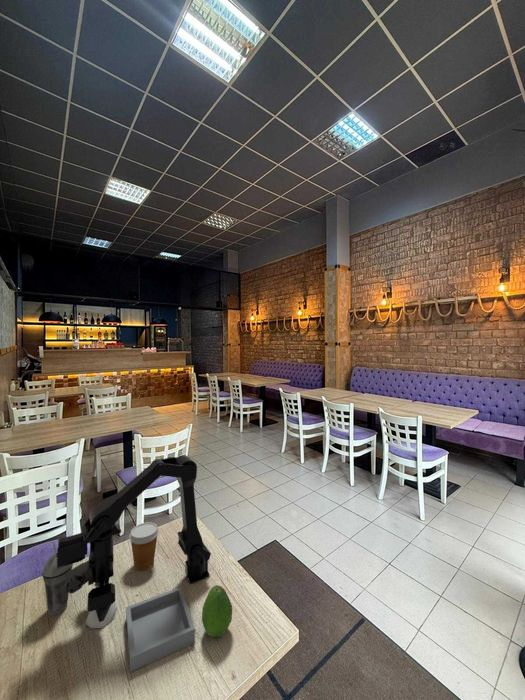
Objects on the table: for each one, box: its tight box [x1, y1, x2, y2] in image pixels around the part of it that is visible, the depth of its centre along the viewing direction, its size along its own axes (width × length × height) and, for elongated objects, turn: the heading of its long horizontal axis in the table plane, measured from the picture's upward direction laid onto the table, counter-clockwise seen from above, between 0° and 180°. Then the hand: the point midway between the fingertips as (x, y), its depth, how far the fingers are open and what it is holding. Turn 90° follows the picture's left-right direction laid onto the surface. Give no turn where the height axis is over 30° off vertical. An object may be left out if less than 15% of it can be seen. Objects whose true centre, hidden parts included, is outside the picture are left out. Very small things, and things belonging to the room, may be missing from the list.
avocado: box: [201, 585, 233, 638], centre depth 78 cm, size 8×8×12 cm
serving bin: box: [125, 586, 196, 673], centre depth 79 cm, size 15×15×4 cm
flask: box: [84, 581, 117, 630], centre depth 82 cm, size 7×7×10 cm
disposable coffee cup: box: [129, 521, 160, 572], centre depth 102 cm, size 10×10×12 cm
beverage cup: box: [41, 540, 74, 616], centre depth 85 cm, size 7×7×20 cm
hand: (101, 607), depth 82 cm, fingers open, 9 cm apart
